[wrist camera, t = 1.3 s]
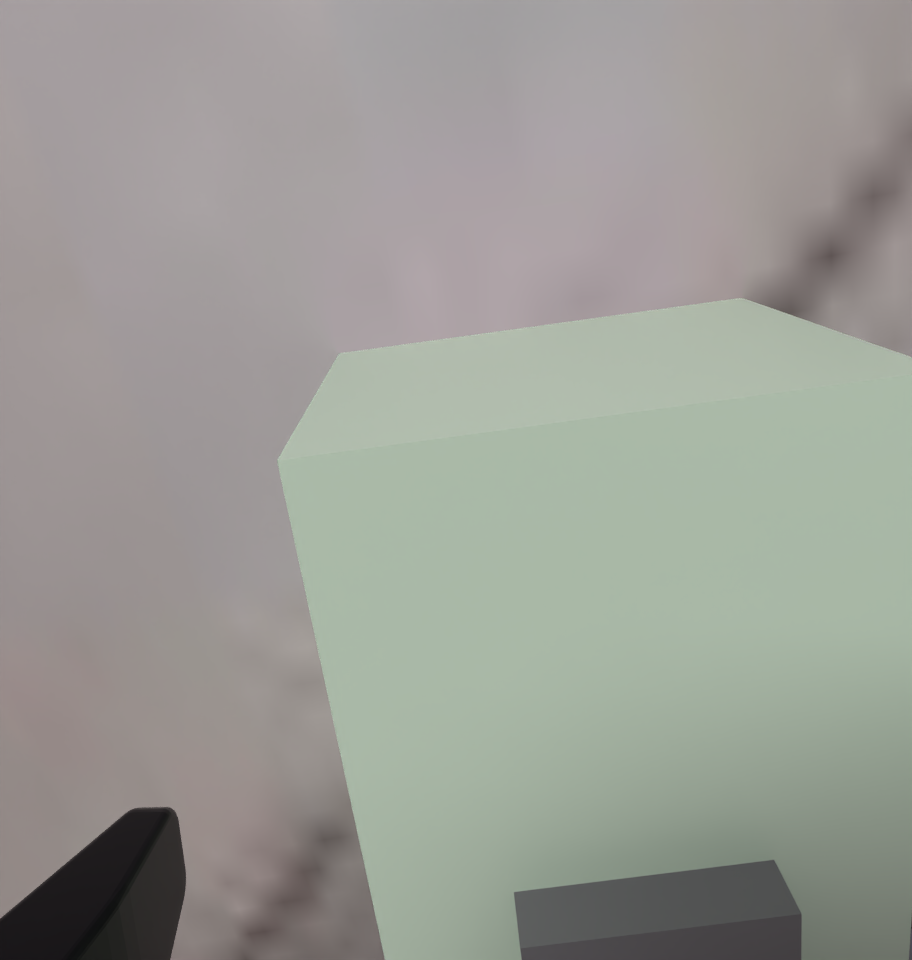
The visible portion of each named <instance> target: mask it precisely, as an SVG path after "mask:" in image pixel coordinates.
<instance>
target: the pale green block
mask: <svg viewBox="0 0 912 960" xmlns="http://www.w3.org/2000/svg"><path fill="white" fill-rule="evenodd" d="M277 463H278V467H279V472H280V477H281V481H282V486H283V491H284V495H285V500H286V504H287V509H288V514H289V518H290V523H291V528H292V532H293V537H294V541H295V546H296V551H297V555H298V560H299V565H300V569H301V574H302V578H303V583H304V588H305V592H306V597H307V602H308V606H309V611H310V615H311V620H312V625H313V629H314V634H315V639H316V643H317V648H318V652H319V657H320V662H321V666H322V671H323V676H324V680H325V685H326V689H327V694H328V699H329V703H330V708H331V713H332V717H333V722H334V726H335V731H336V736H337V740H338V745H339V750H340V754H341V759H342V763H343V768H344V773H345V777H346V782H347V787H348V791H349V796H350V800H351V805H352V810H353V814H354V819H355V824H356V828H357V833H358V837H359V842H360V847H361V851H362V856H363V861H364V865H365V870H366V874H367V879H368V884H369V888H370V893H371V898H372V902H373V907H374V911H375V916H376V921H377V925H378V930H379V934H380V939H381V944H382V948H383V953H384V958H385V960H909V949H910V934H911V919H912V357H910V356H907V355H904V354H901V353H898V352H895V351H892V350H890V349H887V348H884V347H881V346H878V345H875V344H872V343H869V342H867V341H864V340H861V339H858V338H855V337H852V336H849V335H847V334H844V333H841V332H838V331H835V330H832V329H829V328H827V327H824V326H821V325H818V324H815V323H812V322H809V321H807V320H804V319H801V318H798V317H795V316H792V315H789V314H786V313H784V312H781V311H778V310H775V309H772V308H769V307H766V306H764V305H761V304H758V303H755V302H752V301H749V300H746V299H744V298H737V299H730V300H723V301H715V302H708V303H701V304H694V305H686V306H679V307H672V308H665V309H657V310H650V311H643V312H636V313H628V314H621V315H614V316H607V317H599V318H592V319H585V320H578V321H570V322H563V323H556V324H549V325H541V326H534V327H527V328H520V329H513V330H505V331H498V332H491V333H484V334H476V335H469V336H462V337H455V338H447V339H440V340H433V341H426V342H418V343H411V344H404V345H397V346H389V347H382V348H375V349H368V350H360V351H353V352H346V353H339V355H338V356H337V358H336V360H335V361H334V363H333V365H332V367H331V368H330V370H329V372H328V374H327V375H326V377H325V379H324V380H323V382H322V384H321V386H320V387H319V389H318V391H317V393H316V394H315V396H314V398H313V399H312V401H311V403H310V405H309V406H308V408H307V410H306V411H305V413H304V415H303V417H302V418H301V420H300V422H299V424H298V425H297V427H296V429H295V430H294V432H293V434H292V436H291V437H290V439H289V441H288V443H287V444H286V446H285V448H284V449H283V451H282V453H281V455H280V456H279V458H278V460H277Z"/></svg>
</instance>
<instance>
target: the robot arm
mask: <svg viewBox="0 0 912 960" xmlns="http://www.w3.org/2000/svg"><path fill="white" fill-rule="evenodd" d="M185 886H186V871H185V863H184V856H183V849H182V842H181V835H180V827H179V821H178V817H177V815H176V812H175V811H174V810H173V809H171V808H169V807H152V808H135V809H132V810H130V811H128V812H127V813H126V814H124V815H123V816H122V817H121V818H120V819H118V820H117V821H116V822H115V823H114V824H112V825H111V826H110V827H109V828H108V829H106V830H105V831H104V832H103V833H102V834H101V835H99V836H98V837H97V838H96V839H95V840H93V841H92V842H91V843H90V844H89V845H87V846H86V847H85V848H84V849H83V850H81V851H80V852H79V853H78V854H77V855H76V856H74V857H73V858H72V859H71V860H70V861H68V862H67V863H66V864H65V865H64V866H62V867H61V868H60V869H59V870H58V871H56V872H55V873H54V874H53V875H52V876H50V877H49V878H48V879H47V880H46V881H45V882H43V883H42V884H41V885H40V886H39V887H37V888H36V889H35V890H34V891H33V892H31V893H30V894H29V895H28V896H27V897H25V898H24V899H23V900H22V901H21V902H20V903H18V904H17V905H16V906H15V907H14V908H12V909H11V910H10V911H9V912H8V913H6V914H5V915H4V916H3V917H2V918H0V960H170V958H171V953H172V949H173V944H174V940H175V936H176V931H177V927H178V922H179V918H180V913H181V909H182V905H183V900H184V895H185Z"/></svg>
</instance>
